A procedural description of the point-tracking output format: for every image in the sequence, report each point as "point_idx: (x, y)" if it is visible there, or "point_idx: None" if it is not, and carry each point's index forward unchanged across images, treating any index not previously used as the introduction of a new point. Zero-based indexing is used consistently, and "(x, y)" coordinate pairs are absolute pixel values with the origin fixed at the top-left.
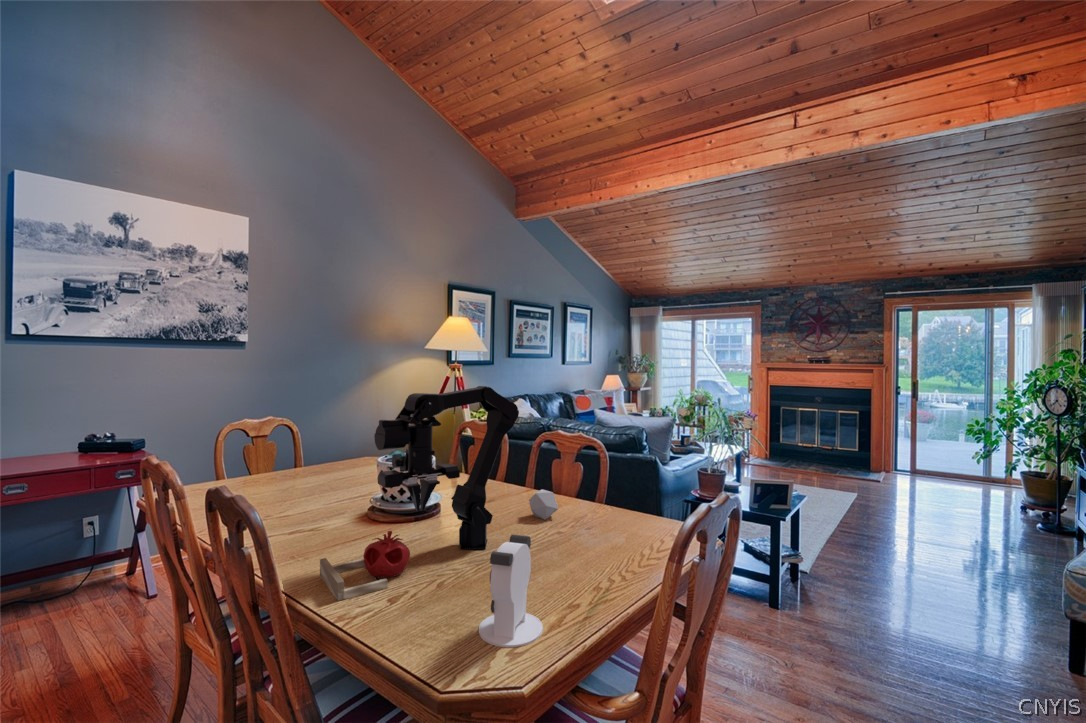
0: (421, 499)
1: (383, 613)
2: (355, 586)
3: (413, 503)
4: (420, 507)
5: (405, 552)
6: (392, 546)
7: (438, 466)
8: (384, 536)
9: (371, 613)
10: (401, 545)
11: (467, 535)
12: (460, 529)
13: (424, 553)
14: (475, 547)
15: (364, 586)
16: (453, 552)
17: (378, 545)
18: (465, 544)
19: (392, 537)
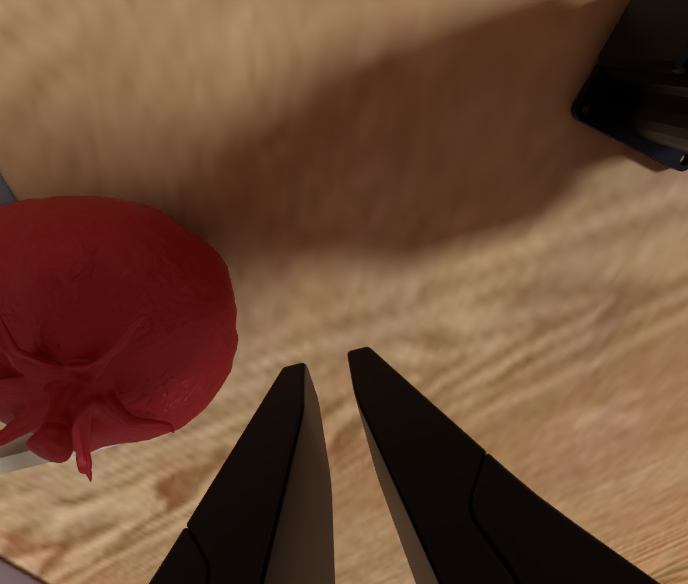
0: (383, 471)
1: (150, 543)
2: (5, 458)
3: (243, 433)
4: (350, 372)
5: (204, 408)
6: (113, 440)
7: None
8: (15, 361)
9: (113, 538)
10: (172, 422)
11: (670, 125)
12: (678, 72)
13: (356, 73)
14: (644, 151)
15: (46, 461)
16: (516, 134)
17: (7, 420)
18: (620, 98)
19: (89, 366)
